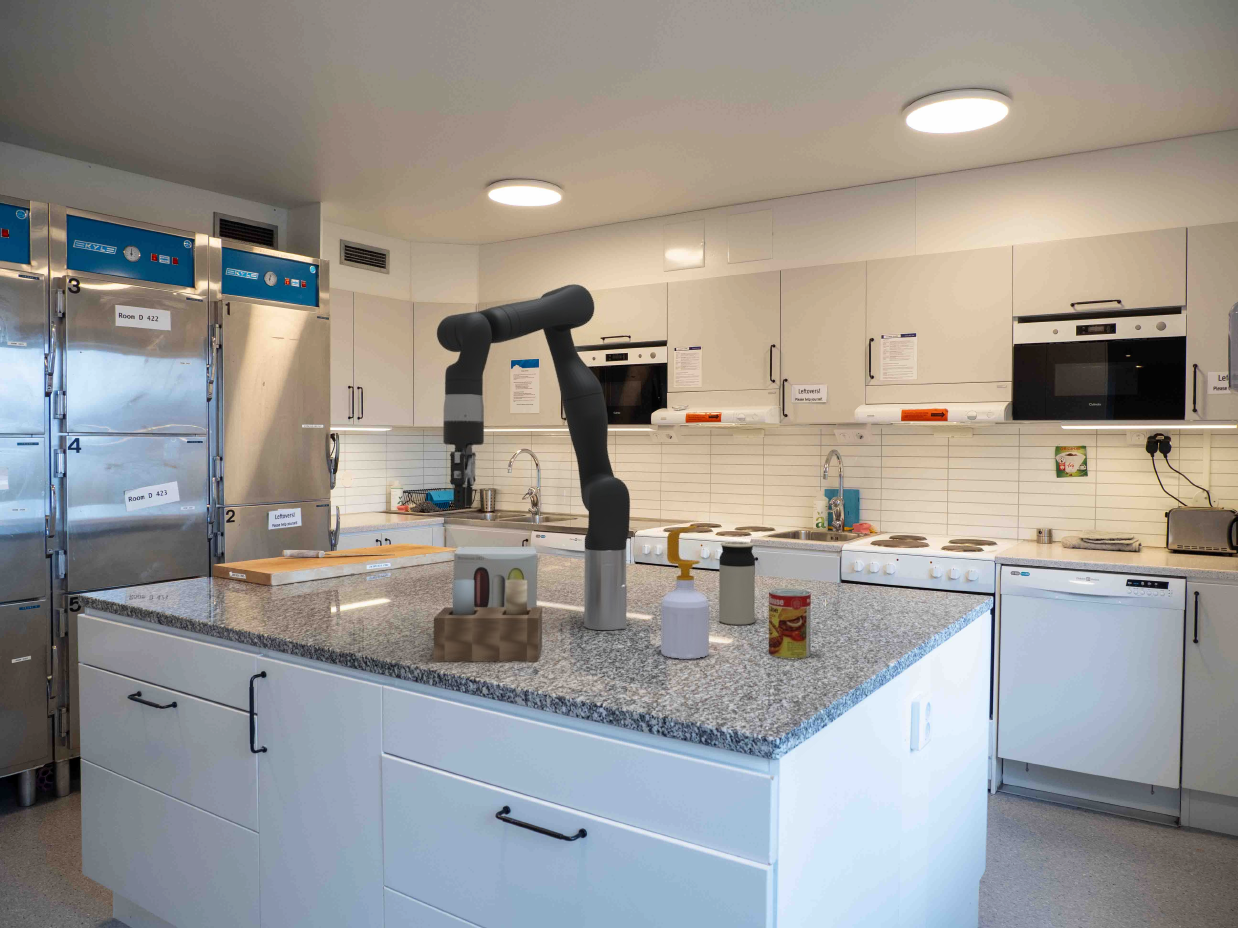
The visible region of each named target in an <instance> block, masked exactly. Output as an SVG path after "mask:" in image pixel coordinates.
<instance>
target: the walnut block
mask: <svg viewBox="0 0 1238 928" xmlns="http://www.w3.org/2000/svg"><path fill="white" fill-rule="evenodd" d="M542 649H543V607H541V606H537V607H527V615H506V607H474V615H453V606H449V607H448V606H445V607H443V608H442V609H441V610H440V611H439V612H438V613H437V614H436V615H435V616H434V617H433V663H444V662H443V661H532V662H533V663H534V661H538V662H539V660H540V656H541V653H542ZM438 661H439V662H438ZM440 661H442V662H440Z"/></svg>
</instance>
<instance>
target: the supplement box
mask: <svg viewBox="0 0 1238 928" xmlns="http://www.w3.org/2000/svg"><path fill="white" fill-rule="evenodd" d="M537 554H538V553H537V547H536V546H531V545H530V546H526V545H525V546H523V545H521V546H519V545H518V546H458V547H457V548H456V550H455V552H454V555H453V580H459V579H471V580H474V607H506V580H512V579H523V580H527V607H538V606H537V603H538V602H537V600H538V555H537Z"/></svg>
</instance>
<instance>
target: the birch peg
mask: <svg viewBox="0 0 1238 928" xmlns="http://www.w3.org/2000/svg"><path fill="white" fill-rule="evenodd" d="M506 615H527V580H523V579H512V580H506Z"/></svg>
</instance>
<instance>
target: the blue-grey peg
mask: <svg viewBox="0 0 1238 928" xmlns="http://www.w3.org/2000/svg"><path fill="white" fill-rule="evenodd" d="M452 607H453V615H474V580H471V579H459V580H454V579H453V580H452Z"/></svg>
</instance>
